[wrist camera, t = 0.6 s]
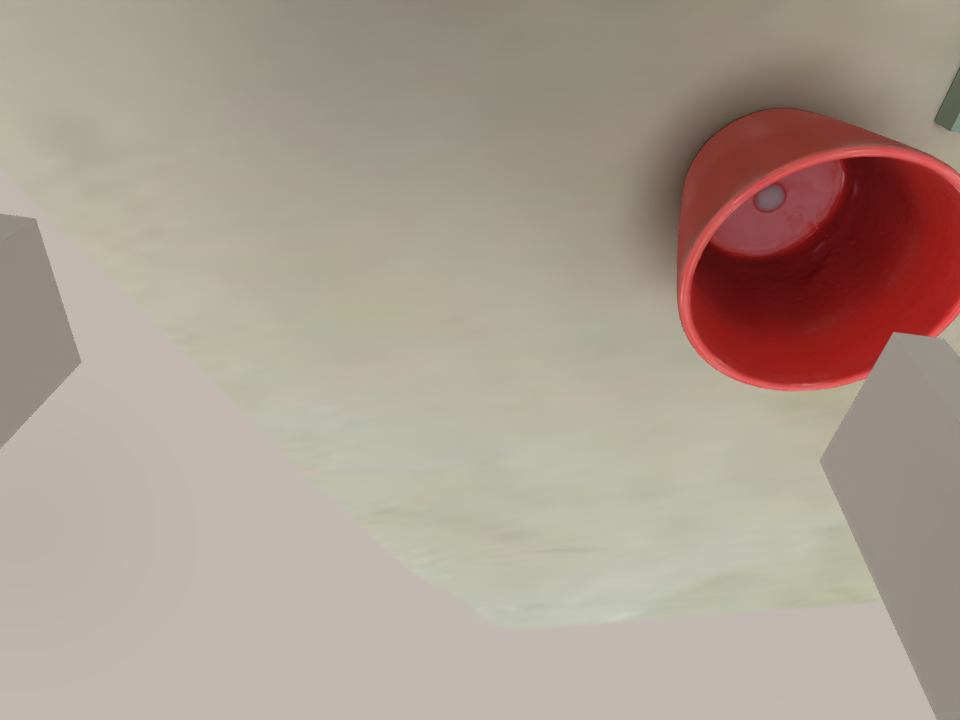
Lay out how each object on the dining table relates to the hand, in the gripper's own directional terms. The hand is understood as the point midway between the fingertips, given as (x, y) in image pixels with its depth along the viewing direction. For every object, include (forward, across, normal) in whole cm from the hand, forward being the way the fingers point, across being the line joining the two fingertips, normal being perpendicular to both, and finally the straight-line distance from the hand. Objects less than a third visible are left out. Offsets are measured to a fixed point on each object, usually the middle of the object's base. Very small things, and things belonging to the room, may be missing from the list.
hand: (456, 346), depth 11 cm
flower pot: (+24, +13, -5) cm, 28 cm away
